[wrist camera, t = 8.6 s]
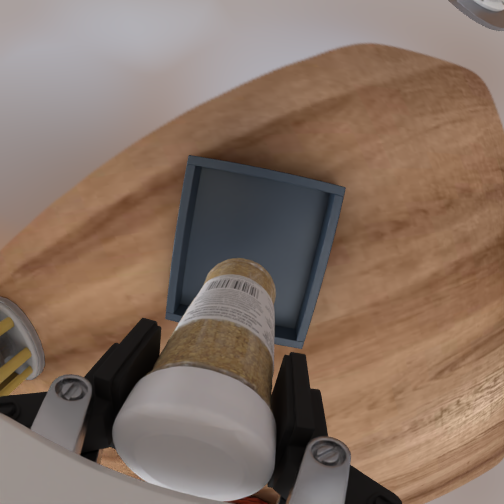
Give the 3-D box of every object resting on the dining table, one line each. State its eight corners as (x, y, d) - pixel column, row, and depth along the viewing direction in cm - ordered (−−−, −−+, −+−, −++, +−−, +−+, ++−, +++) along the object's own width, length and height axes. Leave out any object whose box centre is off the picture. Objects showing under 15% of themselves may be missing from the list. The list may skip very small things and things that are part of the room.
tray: (197, 157, 28) (188, 155, 25) (338, 186, 28) (346, 187, 25) (174, 306, 32) (165, 319, 29) (299, 334, 32) (302, 349, 29)
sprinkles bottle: (195, 305, 20) (100, 467, 7) (221, 243, 19) (118, 378, 6) (258, 333, 20) (235, 518, 7) (289, 274, 19) (309, 451, 6)
